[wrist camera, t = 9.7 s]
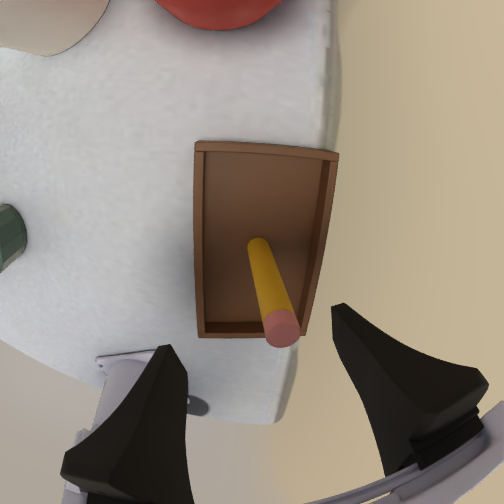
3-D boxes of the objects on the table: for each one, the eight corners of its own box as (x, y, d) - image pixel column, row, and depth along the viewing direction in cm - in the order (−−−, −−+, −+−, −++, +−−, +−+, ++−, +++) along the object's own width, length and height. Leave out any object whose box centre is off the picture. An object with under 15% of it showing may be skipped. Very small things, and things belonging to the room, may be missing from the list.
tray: (300, 321, 24) (305, 336, 23) (199, 322, 23) (198, 338, 22) (328, 150, 18) (339, 153, 16) (197, 140, 17) (194, 141, 15)
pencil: (270, 253, 21) (303, 343, 12) (249, 259, 21) (269, 352, 12) (266, 234, 20) (299, 318, 11) (244, 240, 20) (262, 327, 11)
